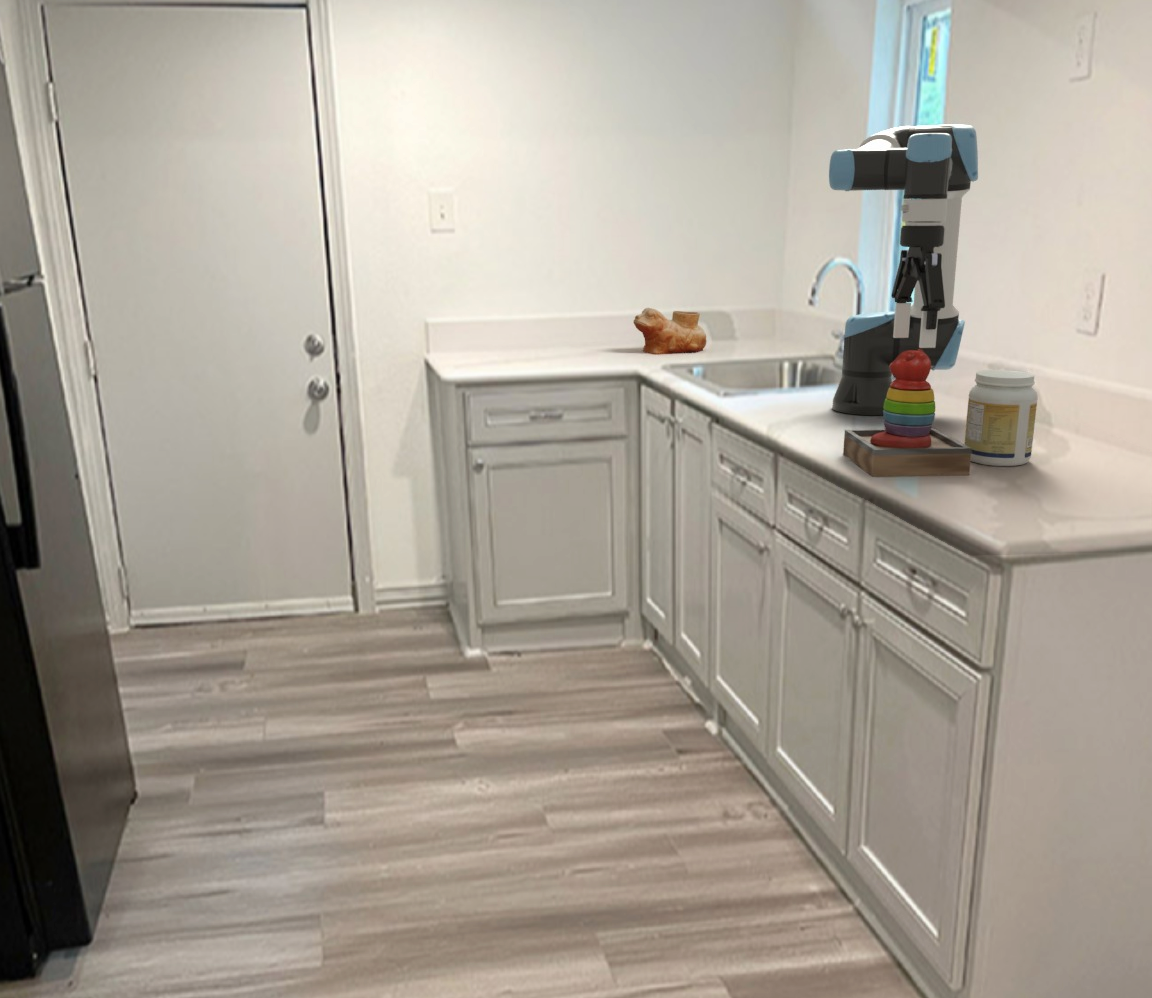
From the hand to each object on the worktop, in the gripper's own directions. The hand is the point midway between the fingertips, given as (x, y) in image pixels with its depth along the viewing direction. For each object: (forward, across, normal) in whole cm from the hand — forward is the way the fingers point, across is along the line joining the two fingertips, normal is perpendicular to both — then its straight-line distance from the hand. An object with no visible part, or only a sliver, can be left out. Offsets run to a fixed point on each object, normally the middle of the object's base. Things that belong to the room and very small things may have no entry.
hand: (913, 342), depth 194 cm
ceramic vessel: (+25, -164, -22) cm, 168 cm away
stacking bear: (+19, 0, 0) cm, 19 cm away
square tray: (+23, 0, 0) cm, 23 cm away
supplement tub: (+24, -2, +19) cm, 30 cm away
